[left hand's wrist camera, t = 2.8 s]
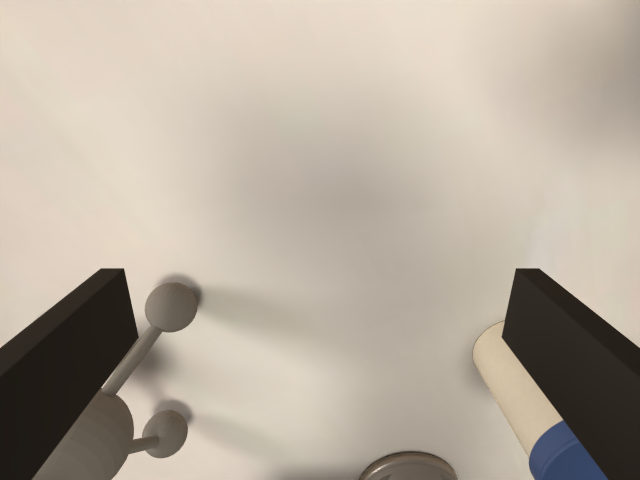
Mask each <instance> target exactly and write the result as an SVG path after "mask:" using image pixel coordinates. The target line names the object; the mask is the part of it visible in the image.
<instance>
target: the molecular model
mask: <svg viewBox="0 0 640 480" xmlns="http://www.w3.org/2000/svg"><path fill="white" fill-rule="evenodd" d="M196 312H197V300H196V297H195V295H194V293H193V292H192V291H191V290H190V289H189V288H188V287H186V286H185V285H182V284H179V283H167V284H164V285H161V286H159V287H157V288H156V289H155V290H153V291H152V292H151V293H150V295H149V297H148V298H147V301H146V304H145V314H146V318H147V320H148V321H149V323H150V324H151V326H150V327H149V329H148V330H147V331H146V333H145V334H144V335H143V336H142V338H141V339H140V340H139V342H138V343H137V344H136V346H135V347H134V348H133V349H132V351H131V352H130V353H129V355H128V356H127V357H126V359H125V360H124V361H123V363H122V364H121V365H120V366H119V368H118V369H117V370H116V372H115V373H114V374H113V376H112V377H111V378H110V379H109V381H108V382H107V383H106V385H105V386H104V387H103V388H100V389H99V391H98V392H97V393H96V395H95V396H94V397H93V399H92V400H91V401H90V403H89V404H88V405H87V407H86V408H85V409H84V411H83V412H82V413H81V415H80V416H79V417H78V419H77V420H76V421H75V423H74V424H73V425H72V427H71V428H70V429H69V431H68V432H67V433H66V435H65V436H64V437H63V439H62V440H61V441H60V443H59V444H58V445H57V447H56V448H55V449H54V451H53V452H52V453H51V455H50V456H49V457H48V459H47V460H46V461H45V463H44V464H43V465H42V467H41V468H40V469H39V471H38V472H37V473H36V475H35V476H34V477H33V479H32V480H111V479H112V478H113V477H114V476H115V475H116V474H117V473H118V471H119V470H120V468H121V467H122V465H123V464H124V462H125V461H126V459H127V456H128V454H132V453H136V452H140V451H144V450H145V451H146V452H147V453H148V454H149V455H151V456H153V457H155V458H166V457H169V456H171V455H173V454H175V453H176V452H177V451H179V450H180V448H181V447H182V446H183V444H184V442H185V440H186V438H187V433H188V427H187V423H186V420H185V419H184V417H183V416H182V415H181V414H179V413H178V412H175V411H170V410H167V411H162V412H159V413H158V414H156V415H154V416H153V417H152V418H151V419H150V420H149V421H148V422H147V424H146V425H145V427H144V430H143V433H142V438H139V439H134V440H133V436H134V425H133V419H132V415H131V413H130V411H129V408H128V406H127V405H126V404H125V402H124V401H123V400H122V399H121V398H120V397H119V396H117V395H116V393H117V392H118V391H119V389H120V388H121V387H122V385H123V384H124V383H125V381H126V380H127V379H128V377H129V376H130V374H131V373H132V372H133V370H134V369H135V368H136V366H137V365H138V364H139V362H140V361H141V360H142V358H143V357H144V356H145V354H146V353H147V352H148V350H149V349H150V347H151V346H152V345H153V343H154V342H155V341H156V339H157V338H158V337H159V335H160V334H161V333H162V331H163V332H176V331H179V330H182V329H184V328H185V327H187V326H188V325H189V324H190V323H191V322H192V321H193V319H194V317H195V315H196Z"/></svg>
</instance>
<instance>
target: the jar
mask: <svg viewBox="0 0 640 480" xmlns="http://www.w3.org/2000/svg"><path fill="white" fill-rule="evenodd" d="M504 323H505V321H502V322H500V323H497V324H495V325H493V326H491V327H490V328H488V329H487V330H486V331H485V332H484V333H483V334H482V335H481V336H480V337H479V338H478V340H477V342H476V344H475V346H474V349H473V361H474V364H475V366H476V367H477V369H478V371H479V373H480V374H481V376H482V378H483V380H484V381H485V383H486V385H487V386H488V388H489V390H490V392H491V393H492V395H493V397H494V399H495V400H496V402H497V404H498V406H499V407H500V409H501V411H502V413H503V414H504V416H505V418H506V419H507V421H508V423H509V425H510V426H511V428H512V430H513V432H514V433H515V435H516V437H517V439H518V440H519V442H520V444H521V446H522V447H523V449H524V451H525V452H526V454H527V456H528V458H529V457H530V453H531V450H532V448H533V446H534V445H535V443H536V441H537V440H538V439H539V438H540V436H541V435H543V434H544V433H545V432H546V431H547V430H548V429H549V428H551V427H552V426H554V425H555V424H557V423H558V422H560V421H562V420H563V419H562V417H561V416H560V415H559V413H558V412H557V411H556V409H555V408H554V407H553V405H552V404H551V403H550V401H549V400H548V399H547V397H546V396H545V395H544V393H543V392H542V391H541V389H540V388H539V387H538V385H537V384H536V383H535V381H534V380H533V379H532V377H531V376H530V375H529V373H528V372H527V371H526V369H525V368H524V367H523V365H522V364H521V363H520V361H519V360H518V359H517V357H516V356H515V355H514V353H513V352H512V351H511V349H510V348H509V347H508V346H507V344H506V343H505V342H504V340H503V339H502V338H501V337H502V332H503V328H504Z"/></svg>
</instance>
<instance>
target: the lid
mask: <svg viewBox="0 0 640 480" xmlns="http://www.w3.org/2000/svg"><path fill="white" fill-rule="evenodd" d="M529 467H530V471H531V474H532V475H533V477H534V479H535V480H608V479H607V477H606V476H605V475H604V473H603V472H602V471H601V469H600V468H599V467H598V465H597V464H596V463H595V461H594V460H593V459H592V457H591V456H590V455H589V453H588V452H587V451H586V449H585V448H584V447H583V445H582V444H581V443H580V441H579V440H578V439H577V437H576V436H575V435H574V433H573V432H572V431H571V429H570V428H569V427H568V425H567V424H566V423H565V421H564V420H562V421H560V422H558V423H557V424H555V425H554V426H552V427H551V428H549V429H548V430H547V431H546V432H545V433H544V434H543V435H541V436H540V438H539V439H538V440H537V441H536V443H535V445H534V446H533V448H532V450H531V453H530V457H529Z"/></svg>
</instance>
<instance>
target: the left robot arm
mask: <svg viewBox="0 0 640 480" xmlns="http://www.w3.org/2000/svg"><path fill="white" fill-rule="evenodd" d="M138 338H139V337H138V332H137V328H136V323H135V318H134V313H133V309H132V304H131V299H130V295H129V290H128V285H127V281H126V276H125V271H124V269H100V270H99V271H97V272H96V273H95V274H93V275H92V276H91V277H90V278H88V279H87V280H86V281H85V282H83V283H82V284H81V285H80V286H78V287H77V288H76V289H74V290H73V291H72V292H71V293H69V294H68V295H67V296H66V297H64V298H63V299H62V300H61V301H59V302H58V303H57V304H55V305H54V306H53V307H52V308H50V309H49V310H48V311H47V312H45V313H44V314H43V315H42V316H40V317H39V318H38V319H36V320H35V321H34V322H33V323H31V324H30V325H29V326H28V327H26V328H25V329H24V330H23V331H21V332H20V333H19V334H17V335H16V336H15V337H14V338H12V339H11V340H10V341H9V342H7V343H6V344H5V345H4V346H2V347H1V348H0V480H32V479H33V477H34V476H35V475H36V473H37V472H38V471H39V469H40V468H41V467H42V465H43V464H44V463H45V461H46V460H47V459H48V457H49V456H50V455H51V453H52V452H53V451H54V449H55V448H56V447H57V445H58V444H59V443H60V441H61V440H62V439H63V437H64V436H65V435H66V433H67V432H68V431H69V429H70V428H71V427H72V425H73V424H74V423H75V421H76V420H77V419H78V417H79V416H80V415H81V413H82V412H83V411H84V409H85V408H86V407H87V405H88V404H89V403H90V401H91V400H92V399H93V397H94V396H95V395H96V393H97V392H98V391H99V389H100V388H101V387H102V385H103V384H104V383H105V381H106V380H107V379H108V377H109V376H110V375H111V373H112V372H113V371H114V369H115V368H116V367H117V365H118V364H119V363H120V361H121V360H122V359H123V357H124V356H125V355H126V353H127V352H128V351H129V349H130V348H131V347H132V345H133V344H134V343H135V341H136V340H137V339H138ZM501 338H502V339H503V340H504V342H505V343H506V344H507V346H508V347H509V348H510V349H511V351H512V352H513V353H514V355H515V356H516V357H517V359H518V360H519V361H520V363H521V364H522V365H523V367H524V368H525V369H526V371H527V372H528V373H529V375H530V376H531V377H532V379H533V380H534V381H535V383H536V384H537V385H538V387H539V388H540V389H541V391H542V392H543V393H544V395H545V396H546V397H547V399H548V400H549V401H550V403H551V404H552V405H553V407H554V408H555V409H556V411H557V412H558V413H559V415H560V416H561V417H562V419H563V420H564V421H565V423H566V424H567V425H568V427H569V428H570V429H571V431H572V432H573V433H574V435H575V436H576V437H577V439H578V440H579V441H580V443H581V444H582V445H583V447H584V448H585V449H586V451H587V452H588V453H589V455H590V456H591V457H592V459H593V460H594V461H595V463H596V464H597V465H598V467H599V468H600V469H601V471H602V472H603V473H604V475H605V476H606V477H607V479H608V480H640V348H639V347H638V346H636V345H635V344H634V343H633V342H631V341H630V340H629V339H628V338H626V337H625V336H624V335H623V334H621V333H620V332H619V331H617V330H616V329H615V328H614V327H612V326H611V325H610V324H609V323H607V322H606V321H605V320H604V319H602V318H601V317H600V316H598V315H597V314H596V313H595V312H593V311H592V310H591V309H590V308H588V307H587V306H586V305H585V304H583V303H582V302H581V301H579V300H578V299H577V298H576V297H574V296H573V295H572V294H571V293H569V292H568V291H567V290H566V289H564V288H563V287H562V286H560V285H559V284H558V283H557V282H555V281H554V280H553V279H552V278H550V277H549V276H548V275H547V274H545V273H544V272H543V271H541V270H540V269H516V271H515V276H514V281H513V285H512V290H511V295H510V299H509V304H508V309H507V313H506V318H505V323H504V328H503V332H502V337H501ZM360 480H458V479H457V476H456V474H455V472H454V470H453V469H452V468H451V466H450V465H448V464H447V463H446V462H445V461H443V460H441V459H440V458H437V457H435V456H432V455H429V454H424V453H416V452H408V453H399V454H394V455H391V456H388V457H385V458H383V459H381V460H379V461H377V462H375V463H374V464H372V465H371V466H370V467H369V468H368V469H367V470H366V471H365V472H364V473H363V474H362V476H361V478H360Z"/></svg>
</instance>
